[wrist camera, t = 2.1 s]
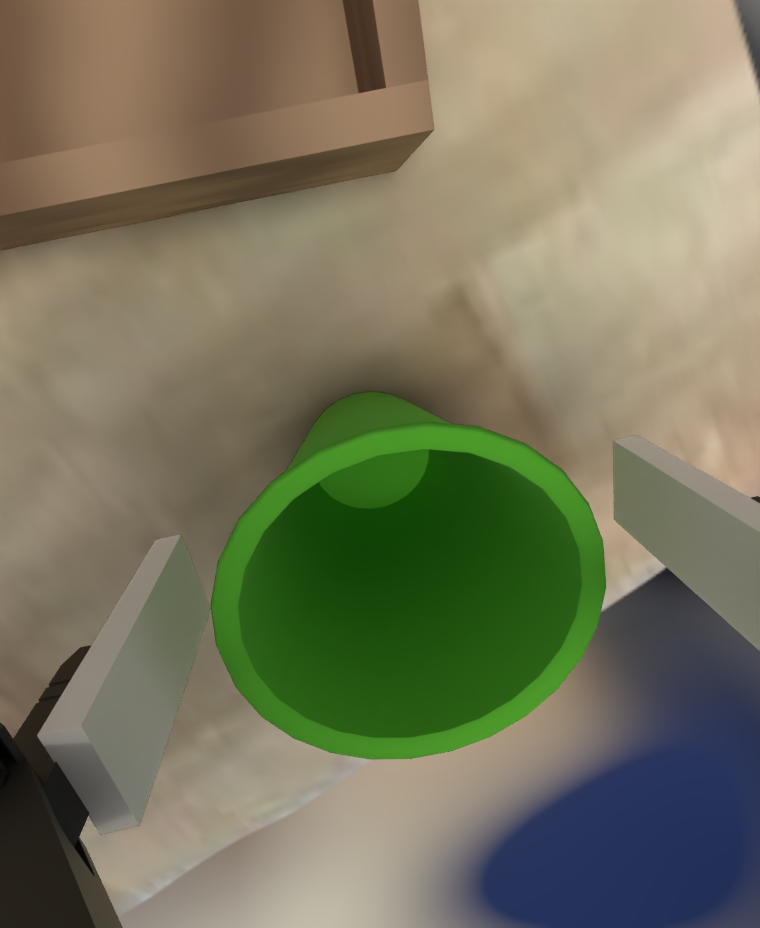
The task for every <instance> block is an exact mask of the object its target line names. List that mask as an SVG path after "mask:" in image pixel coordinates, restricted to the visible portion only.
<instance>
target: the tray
mask: <svg viewBox="0 0 760 928" xmlns="http://www.w3.org/2000/svg"><path fill="white" fill-rule="evenodd" d="M433 130H434V123H433V115H432V107H431V99H430V91H429V83H428V75H427V68H426V60H425V52H424V44H423V36H422V28H421V20H420V12H419V4H418V0H0V250H4V249H9V248H14V247H19V246H24V245H29V244H34V243H39V242H44V241H49V240H54V239H59V238H64V237H69V236H74V235H79V234H84V233H89V232H94V231H99V230H104V229H108V228H113V227H118V226H123V225H128V224H133V223H138V222H143V221H148V220H153V219H158V218H163V217H168V216H173V215H178V214H183V213H188V212H193V211H198V210H203V209H208V208H213V207H218V206H222V205H227V204H232V203H237V202H242V201H247V200H252V199H257V198H262V197H267V196H272V195H277V194H282V193H287V192H292V191H297V190H302V189H307V188H312V187H317V186H322V185H327V184H332V183H336V182H341V181H346V180H351V179H356V178H361V177H366V176H371V175H376V174H381V173H386V172H391V171H396V170H398V168H399V167H400V166H401V165H402V164H403V163H404V162H405V161H406V160H407V159H408V158H409V157H410V155H411V154H412V153H413V152H414V151H415V150H416V149H417V148H418V147H419V146H420V145H421V143H422V142H423V141H424V140H425V139H426V138H427V137H428V136H429V135H430V134H431V133H432V131H433Z"/></svg>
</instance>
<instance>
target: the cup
mask: <svg viewBox="0 0 760 928" xmlns="http://www.w3.org/2000/svg"><path fill="white" fill-rule="evenodd" d="M605 590H606V577H605V562H604V547H603V540H602V537H601V535H600V532H599V529H598V527H597V524H596V521H595V519H594V516H593V513H592V511H591V508H590V505H589V503H588V502H587V501H586V499H585V498H584V497H583V495H582V494H581V493H580V492H579V490H578V489H577V488H576V486H575V485H574V484H573V483H572V481H571V480H570V479H569V477H568V476H567V475H566V474H565V472H564V471H563V470H562V469H561V468H559V467H558V466H556V465H555V464H554V463H552V462H551V461H549V460H548V459H547V458H545V457H544V456H542V455H541V454H540V453H538V452H537V451H535V450H534V449H533V448H531V447H530V446H528V445H527V444H525V443H523V442H520V441H517V440H515V439H512V438H509V437H506V436H503V435H501V434H498V433H495V432H492V431H490V430H487V429H484V428H481V427H479V426H468V425H458V424H451V423H449V422H447V421H445V420H443V419H441V418H439V417H437V416H435V415H433V414H431V413H429V412H427V411H425V410H423V409H421V408H419V407H417V406H415V405H413V404H411V403H409V402H407V401H405V400H403V399H401V398H398V397H396V396H393V395H390V394H387V393H380V392H364V393H356V394H353V395H350V396H348V397H345V398H342V399H340V400H338V401H337V402H335V403H334V404H333V405H331V406H330V407H328V408H327V409H326V410H325V411H324V412H323V413H322V415H321V416H320V417H319V418H318V419H317V420H316V422H315V424H314V425H313V427H312V429H311V430H310V432H309V434H308V435H307V437H306V439H305V440H304V442H303V444H302V445H301V447H300V449H299V450H298V452H297V454H296V455H295V457H294V459H293V460H292V462H291V464H290V465H289V467H288V469H287V470H286V472H284V473H283V474H281V475H280V476H278V477H277V478H275V479H274V480H273V481H272V482H271V483H270V484H269V485H268V486H267V487H266V489H265V490H264V491H263V492H262V493H261V494H260V495H259V497H258V498H257V499H256V500H255V501H254V502H253V503H252V504H251V506H250V507H249V508H248V509H247V510H246V511H245V512H244V514H243V515H242V516H241V517H240V518H239V519H238V522H237V524H236V526H235V528H234V530H233V532H232V534H231V536H230V538H229V540H228V542H227V544H226V546H225V548H224V550H223V552H222V554H221V556H220V558H219V560H218V564H217V570H216V576H215V582H214V587H213V593H212V599H211V611H212V618H213V626H214V633H215V641H216V646H217V648H218V650H219V652H220V655H221V657H222V659H223V661H224V663H225V665H226V667H227V670H228V672H229V674H230V676H231V678H232V680H233V682H234V684H235V686H236V688H237V689H238V690H239V691H240V693H241V694H242V695H243V696H244V697H245V698H246V699H247V701H248V702H249V703H250V704H251V705H252V706H253V707H254V709H255V710H256V711H257V712H258V713H259V714H260V715H261V716H262V717H263V718H264V719H266V720H267V721H269V722H270V723H272V724H273V725H275V726H276V727H278V728H279V729H281V730H282V731H284V732H285V733H287V734H288V735H290V736H291V737H293V738H294V739H297V740H299V741H302V742H305V743H307V744H310V745H312V746H315V747H318V748H320V749H323V750H325V751H328V752H330V753H336V754H342V755H348V756H354V757H360V758H366V759H412V758H418V757H423V756H428V755H433V754H439V753H444V752H449V751H453V750H456V749H459V748H461V747H464V746H467V745H469V744H472V743H475V742H477V741H480V740H483V739H485V738H488V737H491V736H492V735H494V734H496V733H497V732H499V731H501V730H503V729H504V728H506V727H508V726H510V725H511V724H513V723H515V722H517V721H518V720H520V719H522V718H523V717H525V716H526V715H528V714H529V713H530V712H531V711H532V710H534V709H535V708H536V707H537V706H538V705H539V704H540V703H542V702H543V701H544V700H545V699H546V698H548V697H549V696H550V695H551V694H552V693H554V692H555V691H556V690H557V689H558V687H559V686H560V685H561V684H562V682H563V681H564V680H565V679H566V677H567V676H568V675H569V674H570V672H571V671H572V670H573V669H574V667H575V666H576V665H577V664H578V662H579V661H580V660H581V658H582V656H583V654H584V652H585V650H586V648H587V646H588V644H589V642H590V640H591V638H592V635H593V633H594V632H595V630H596V627H597V625H598V623H599V618H600V613H601V608H602V604H603V599H604V594H605Z"/></svg>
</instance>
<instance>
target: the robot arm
mask: <svg viewBox="0 0 760 928" xmlns="http://www.w3.org/2000/svg"><path fill="white" fill-rule="evenodd" d="M613 493H614V520H615V521H616V522H617V523H618V524H619V525H620V526H622V527H623V528H624V529H625V530H626V531H627V532H628V533H629V534H630V535H632V536H633V537H634V538H635V539H636V540H637V541H638V542H639V543H640V544H642V545H643V546H644V547H645V548H646V549H647V550H648V551H649V552H650V553H652V554H653V555H654V556H655V557H656V558H657V559H658V560H659V561H660V562H662V563H663V564H664V565H665V566H666V567H667V568H668V569H669V570H670V571H672V572H673V573H674V574H675V575H676V576H677V577H678V578H679V579H680V580H682V581H683V582H684V583H685V584H686V585H687V586H688V587H689V588H690V589H692V590H693V591H694V592H695V593H696V594H697V595H698V596H699V597H700V598H702V599H703V600H704V601H705V602H706V603H707V604H708V605H709V606H710V607H712V608H713V609H714V610H715V611H716V612H717V613H718V614H719V615H720V616H722V617H723V618H724V619H725V620H726V621H727V622H728V623H729V624H730V625H732V626H733V627H734V628H735V629H736V630H737V631H738V632H739V633H740V634H742V635H743V636H744V637H745V638H746V639H747V640H748V641H749V642H750V643H752V644H753V645H754V646H755V647H756V648H757V649H758V650H759V651H760V497H758V496H756V497H752V498H749V497H748V496H746V495H744V494H742V493H740V492H739V491H737V490H735V489H733V488H731V487H730V486H728V485H726V484H724V483H723V482H721V481H719V480H717V479H715V478H714V477H712V476H710V475H708V474H707V473H705V472H703V471H701V470H699V469H698V468H696V467H694V466H692V465H690V464H689V463H687V462H685V461H683V460H682V459H680V458H678V457H676V456H674V455H673V454H671V453H669V452H667V451H665V450H664V449H662V448H660V447H658V446H657V445H655V444H653V443H651V442H649V441H648V440H646V439H644V438H642V437H641V436H639V435H635V436H630V437H625V438H621V439H616V440H613ZM210 610H211V608H210V605H209V603H208V600H207V598H206V595H205V593H204V590H203V588H202V585H201V583H200V580H199V578H198V575H197V573H196V570H195V568H194V565H193V563H192V560H191V557H190V555H189V552H188V550H187V547H186V545H185V542H184V540H183V537H182V535H181V534H180V535H175V536H171V537H166V538H161V539H157V540H155V542H154V543H153V545H152V546H151V548H150V550H149V551H148V553H147V555H146V556H145V558H144V560H143V561H142V563H141V565H140V566H139V568H138V570H137V571H136V573H135V575H134V576H133V578H132V580H131V581H130V583H129V584H128V586H127V588H126V589H125V591H124V593H123V594H122V596H121V598H120V599H119V601H118V603H117V604H116V606H115V608H114V609H113V611H112V613H111V614H110V616H109V617H108V619H107V621H106V622H105V624H104V626H103V627H102V629H101V631H100V632H99V634H98V636H97V637H96V639H95V641H94V642H93V644H92V645H90V646H85V647H81V648H79V649H78V650H77V651H76V652H75V653H74V654H73V655H72V656H71V657H70V658H69V659H67V660H66V661H65V662H64V663H63V664H62V665H61V666H60V668H59V669H58V671H57V673H56V674H55V676H54V677H53V679H52V680H51V682H50V683H49V687H48V688H46V689H45V691H44V693H43V694H42V696H41V697H40V699H39V703H36V705H35V706H34V708H33V709H32V711H31V712H30V714H29V716H28V717H27V719H26V720H25V722H24V723H23V725H22V726H21V728H20V729H19V731H18V732H17V734H16V736H15V737H14V739H13V738H12V737H11V735H10V734H9V732H8V731H7V729H6V728H5V726H4V725H2V724H1V723H0V928H123V927H122V925H121V923H120V921H119V919H118V916H117V914H116V912H115V910H114V908H113V906H112V903H111V901H110V899H109V897H108V895H107V892H106V890H105V888H104V886H103V884H102V882H101V879H100V877H99V875H98V873H97V871H96V868H95V866H94V864H93V862H92V860H91V857H90V855H89V853H88V851H87V849H86V847H85V845H84V844H83V842H82V841H81V839H80V838H79V836H80V834H81V832H82V829H83V827H84V825H85V822H86V820H87V818H88V816H89V817H90V819H91V820H92V822H93V823H94V825H95V827H96V828H97V830H98V831H99V833H100V834H101V835H102V834H106V833H110V832H115V831H119V830H123V829H128V828H132V827H136V826H140V823H141V820H142V817H143V814H144V811H145V808H146V805H147V802H148V799H149V796H150V793H151V790H152V787H153V784H154V781H155V778H156V774H157V771H158V768H159V765H160V762H161V759H162V756H163V753H164V750H165V747H166V744H167V741H168V738H169V735H170V732H171V729H172V726H173V723H174V720H175V716H176V713H177V710H178V707H179V704H180V701H181V698H182V695H183V692H184V689H185V686H186V683H187V680H188V677H189V674H190V671H191V668H192V665H193V662H194V658H195V655H196V652H197V649H198V646H199V643H200V640H201V637H202V634H203V631H204V628H205V625H206V622H207V619H208V616H209V613H210Z"/></svg>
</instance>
